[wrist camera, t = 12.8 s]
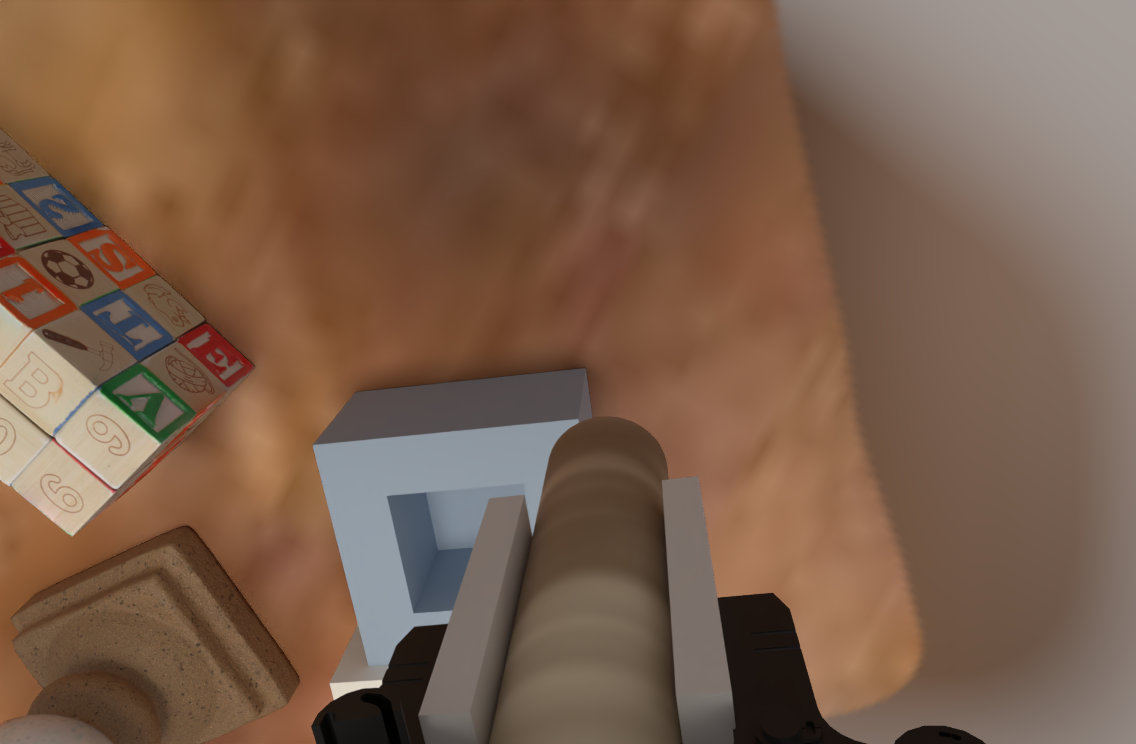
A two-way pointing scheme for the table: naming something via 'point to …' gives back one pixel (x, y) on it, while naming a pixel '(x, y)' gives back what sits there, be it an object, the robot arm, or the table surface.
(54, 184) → the stack of blocks
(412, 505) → the block
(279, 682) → the candle holder
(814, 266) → the table surface
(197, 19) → the table surface
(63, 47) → the table surface
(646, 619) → the dowel
